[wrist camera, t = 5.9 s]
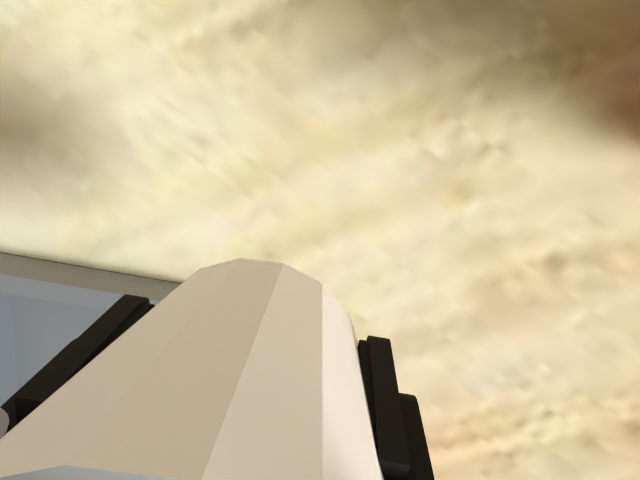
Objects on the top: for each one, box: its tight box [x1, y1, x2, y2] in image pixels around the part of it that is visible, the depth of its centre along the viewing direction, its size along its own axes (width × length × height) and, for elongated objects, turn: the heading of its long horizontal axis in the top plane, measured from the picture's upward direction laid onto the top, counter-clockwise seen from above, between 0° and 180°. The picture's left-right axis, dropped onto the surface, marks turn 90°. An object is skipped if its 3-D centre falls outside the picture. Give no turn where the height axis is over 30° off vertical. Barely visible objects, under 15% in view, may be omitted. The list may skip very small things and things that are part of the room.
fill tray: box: [0, 253, 181, 407], centre depth 28 cm, size 13×13×2 cm
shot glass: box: [0, 258, 384, 480], centre depth 8 cm, size 7×7×7 cm
